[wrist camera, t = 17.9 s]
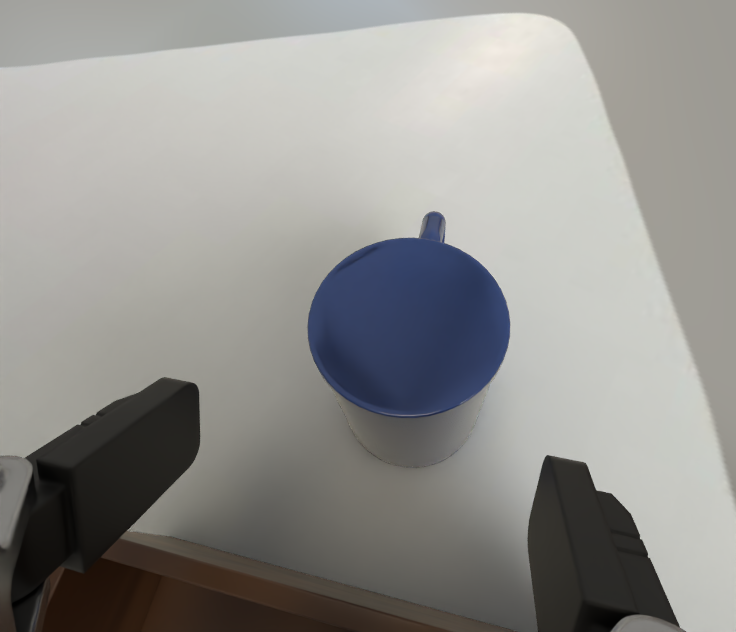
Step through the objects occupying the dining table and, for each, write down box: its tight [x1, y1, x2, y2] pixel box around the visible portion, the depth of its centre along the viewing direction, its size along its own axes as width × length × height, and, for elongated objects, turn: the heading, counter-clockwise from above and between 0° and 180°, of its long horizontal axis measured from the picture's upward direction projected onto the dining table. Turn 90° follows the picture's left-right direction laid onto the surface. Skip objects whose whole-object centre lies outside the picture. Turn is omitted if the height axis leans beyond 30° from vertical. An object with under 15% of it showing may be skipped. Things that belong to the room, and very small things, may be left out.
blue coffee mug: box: [308, 211, 510, 467], centre depth 19 cm, size 9×6×8 cm
